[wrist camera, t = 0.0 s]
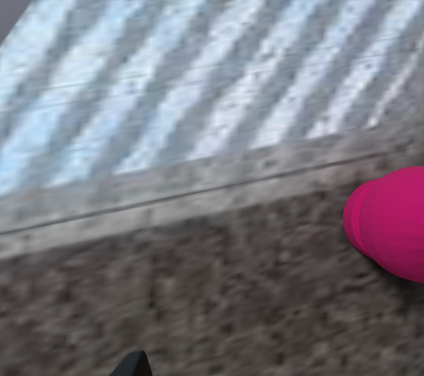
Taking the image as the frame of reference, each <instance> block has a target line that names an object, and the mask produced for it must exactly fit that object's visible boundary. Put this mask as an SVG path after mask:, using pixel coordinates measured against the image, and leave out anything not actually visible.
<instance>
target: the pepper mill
mask: <svg viewBox="0 0 424 376" xmlns="http://www.w3.org/2000/svg"><path fill="white" fill-rule="evenodd" d="M343 225H344V229H345V232H346V235H347V237H348V239H349V241H350V242H351V244H352V245H353V246H354V247H355V248H356V249H357V250H358V251H359V252H361V253H362V254H364V255H366V256H368V257H370V258H372V259H374V260H375V261H376V262H377V263H378V264H379V265H380V266H381V267H383V268H384V269H385V270H387V271H388V272H390V273H392V274H394V275H396V276H398V277H401V278H404V279H408V280H412V281H415V282H419V283H424V166H422V167H407V168H403V169H399V170H396V171H394V172H391V173H389V174H387V175H385V176H384V177H383V178H381V179H374V180H371V181H368V182H365V183H364V184H362V185H361V186H359V187H358V188H357V189H355V190H354V192H353V193H352V194H351V195H350V197H349V199H348V200H347V202H346V204H345V208H344V212H343Z"/></svg>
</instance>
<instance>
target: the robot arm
mask: <svg viewBox="0 0 424 376" xmlns="http://www.w3.org/2000/svg"><path fill="white" fill-rule="evenodd" d="M109 376H153V375H152V372H151V368H150V365H149V362H148V359H147V355H146V353H145V352H144V351H143V350H141V351H136V352H132V353H129V354H128V355H127V356H126V357H125V358H124V359H123V361H122V362H121V363H120V364H119V365H118V366H117V367H116V369H115V370H114V371H113V372H112V373H111V374H110V375H109Z"/></svg>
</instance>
